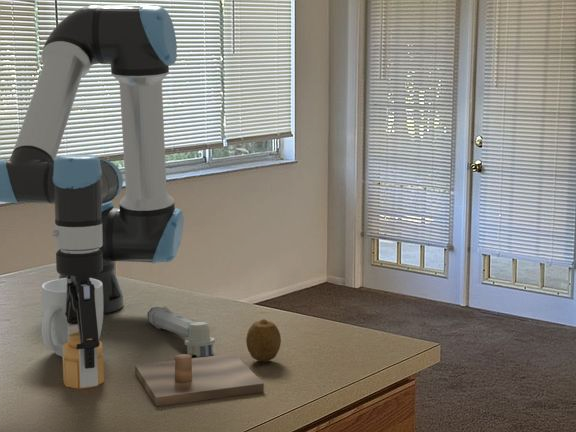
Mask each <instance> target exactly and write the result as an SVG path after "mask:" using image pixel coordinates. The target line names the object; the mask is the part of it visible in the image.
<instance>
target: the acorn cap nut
mask: <svg viewBox="0 0 576 432" xmlns="http://www.w3.org/2000/svg"><path fill="white" fill-rule="evenodd" d="M87 340H92V339H87ZM99 342H100V344H99V347H97V369H98V386H99V385H101V384H102V383H103V384H104V381H105V371H104V370H105V369H104V367H105V366H104V365H105V364H104V355H103V342H102V341H100V340H99ZM77 344H81V343H80V336H79V332H78V333H73V334H71V335H69V336H68V342H66V343H65V344H64V345H63V357H62V373H63V374H62V375H63V378H62V379H63V384H64V386H65V387H67V388H72V389H77V390H78V389H80V390H82V389H89V388H94V387H97V386H89V387H81V386H80V358H79V349H76V346H77Z"/></svg>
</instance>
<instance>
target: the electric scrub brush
mask: <svg viewBox="0 0 576 432" xmlns="http://www.w3.org/2000/svg"><path fill="white" fill-rule="evenodd" d="M146 316H147V322H148V323H150V324H151V325H152V326H154V327H155V328H156V329H157V330H162V329H163V330H166V331H168V332H171V333H173V334H174V333H175V334H177V335H181V336H184V337H187V338H185V340H184V345H185V346H186V350H187V354H188V355H191V356H192V357H193V356H196V357H195V358H200V357H208V356H213V355H214V344H215V338H214V337H212V336H211V331H210V327H209V324H208V322H205V321H193V320H191V319H189V318H186V317H184V316H183V315H180V314H178V313H175V312H173V311H171V310H170V309H169V308H168V307H167V306H163V307H161V306H155V307H151V308H150V310H149V311H148V312H147V315H146ZM161 328H162V329H161Z"/></svg>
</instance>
